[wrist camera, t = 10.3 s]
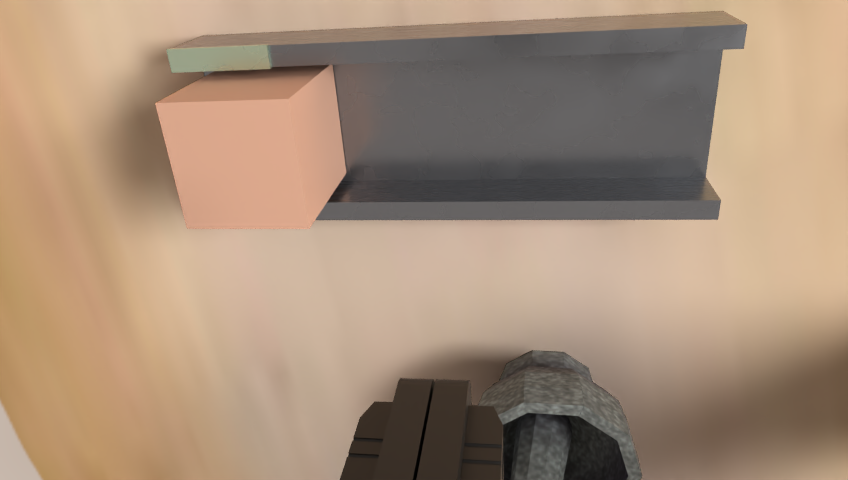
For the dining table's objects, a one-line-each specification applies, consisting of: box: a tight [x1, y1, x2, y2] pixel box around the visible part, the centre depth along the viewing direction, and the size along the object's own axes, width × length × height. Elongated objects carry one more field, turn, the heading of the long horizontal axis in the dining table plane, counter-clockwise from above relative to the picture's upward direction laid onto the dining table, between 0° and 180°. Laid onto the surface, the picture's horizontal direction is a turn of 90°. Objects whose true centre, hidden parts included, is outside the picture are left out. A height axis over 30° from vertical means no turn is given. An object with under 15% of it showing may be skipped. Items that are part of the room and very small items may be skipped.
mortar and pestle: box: [478, 350, 642, 480], centre depth 37 cm, size 11×9×12 cm
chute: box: [166, 11, 747, 220], centre depth 33 cm, size 26×9×4 cm, turn 94°
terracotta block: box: [155, 65, 346, 229], centre depth 32 cm, size 6×6×7 cm
